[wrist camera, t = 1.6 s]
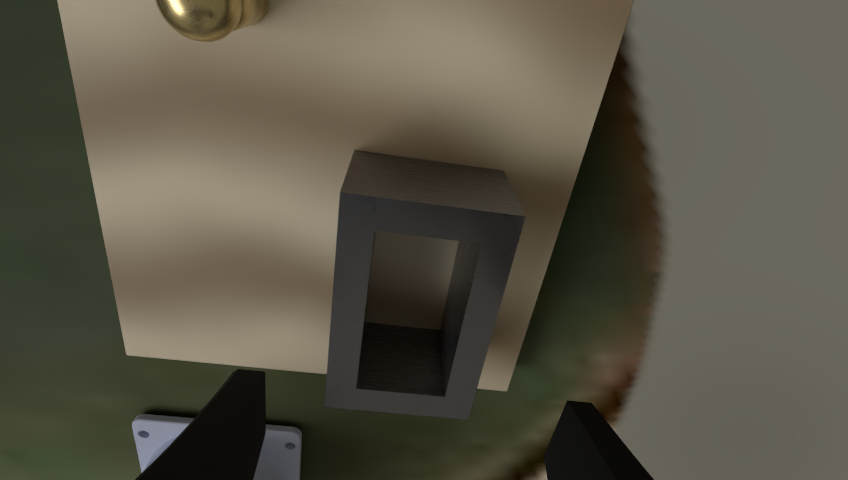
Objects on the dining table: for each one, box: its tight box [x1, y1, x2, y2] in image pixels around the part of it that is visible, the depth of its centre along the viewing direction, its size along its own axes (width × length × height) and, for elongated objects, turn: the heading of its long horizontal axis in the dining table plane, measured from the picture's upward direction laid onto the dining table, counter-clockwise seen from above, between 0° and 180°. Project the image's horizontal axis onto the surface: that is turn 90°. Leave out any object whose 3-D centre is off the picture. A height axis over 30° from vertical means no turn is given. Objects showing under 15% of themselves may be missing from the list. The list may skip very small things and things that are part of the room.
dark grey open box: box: [324, 150, 526, 420], centre depth 16 cm, size 8×5×4 cm, turn 171°
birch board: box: [57, 0, 634, 391], centre depth 16 cm, size 20×16×2 cm
